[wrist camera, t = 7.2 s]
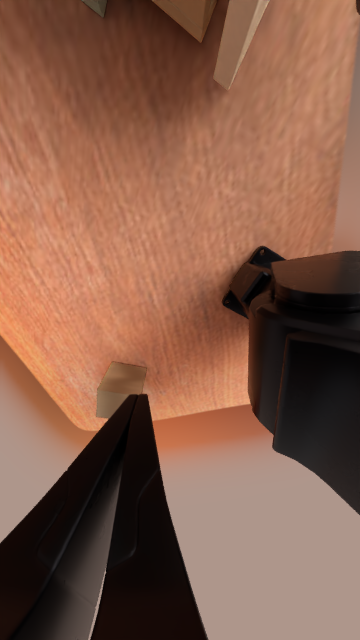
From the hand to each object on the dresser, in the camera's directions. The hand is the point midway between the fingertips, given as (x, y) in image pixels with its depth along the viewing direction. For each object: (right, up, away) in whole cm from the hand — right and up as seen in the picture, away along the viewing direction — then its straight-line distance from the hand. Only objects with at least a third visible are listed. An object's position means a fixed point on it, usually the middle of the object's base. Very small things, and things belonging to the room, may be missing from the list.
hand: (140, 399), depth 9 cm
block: (-5, -4, +16) cm, 17 cm away
